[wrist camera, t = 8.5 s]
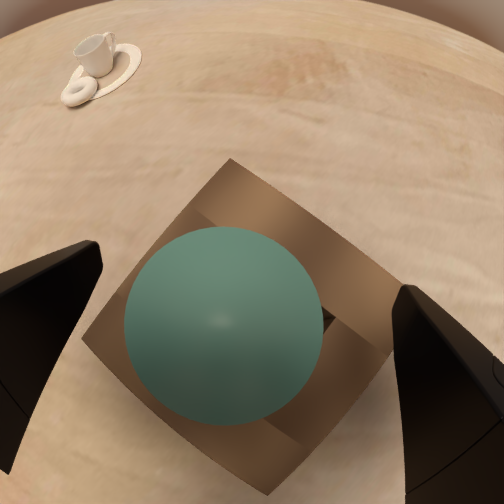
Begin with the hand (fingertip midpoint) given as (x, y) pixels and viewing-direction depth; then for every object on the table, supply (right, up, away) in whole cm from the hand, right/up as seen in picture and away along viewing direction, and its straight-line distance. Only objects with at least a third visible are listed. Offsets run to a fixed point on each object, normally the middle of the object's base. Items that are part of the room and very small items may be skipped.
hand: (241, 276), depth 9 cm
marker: (0, -4, +9) cm, 10 cm away
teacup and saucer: (-17, +17, +16) cm, 29 cm away
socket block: (0, -4, +9) cm, 10 cm away
